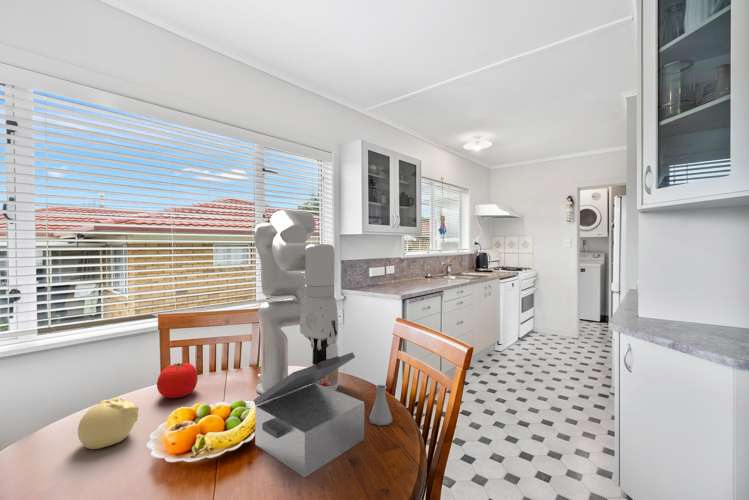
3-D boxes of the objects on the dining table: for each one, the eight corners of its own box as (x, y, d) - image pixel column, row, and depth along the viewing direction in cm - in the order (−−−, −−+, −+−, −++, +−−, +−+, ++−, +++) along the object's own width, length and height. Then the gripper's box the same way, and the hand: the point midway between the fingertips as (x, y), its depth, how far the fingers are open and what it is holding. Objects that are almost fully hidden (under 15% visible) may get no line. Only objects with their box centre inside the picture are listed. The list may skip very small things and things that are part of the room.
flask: (391, 427, 98) (391, 392, 98) (366, 424, 99) (366, 390, 99) (394, 415, 105) (394, 382, 105) (371, 413, 106) (371, 381, 106)
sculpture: (145, 433, 94) (145, 394, 94) (98, 459, 83) (98, 414, 83) (116, 426, 98) (116, 388, 98) (67, 449, 86) (67, 407, 86)
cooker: (246, 448, 87) (246, 409, 87) (320, 412, 106) (320, 380, 106) (295, 483, 74) (295, 437, 74) (369, 435, 93) (370, 398, 93)
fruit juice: (340, 392, 122) (340, 313, 121) (313, 394, 119) (313, 314, 119) (336, 382, 131) (336, 308, 130) (311, 384, 128) (311, 309, 128)
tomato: (199, 386, 126) (199, 356, 126) (194, 400, 114) (194, 367, 114) (162, 390, 122) (162, 359, 122) (153, 406, 110) (153, 372, 110)
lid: (255, 405, 89) (251, 392, 90) (314, 382, 104) (310, 371, 105) (299, 376, 77) (293, 361, 78) (358, 355, 93) (353, 343, 94)
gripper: (289, 291, 90) (289, 361, 90) (328, 296, 80) (328, 374, 80) (312, 288, 95) (312, 354, 95) (351, 293, 86) (350, 366, 86)
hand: (319, 363), depth 88 cm, fingers closed
